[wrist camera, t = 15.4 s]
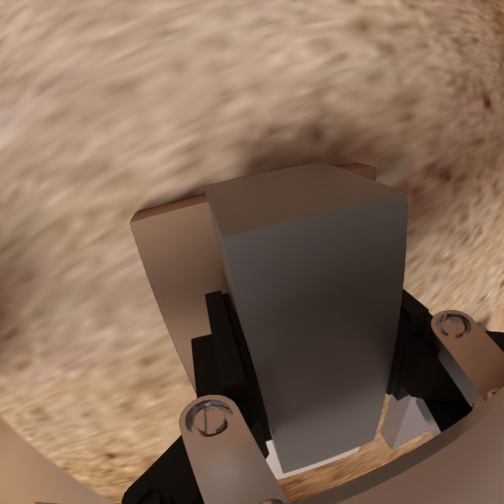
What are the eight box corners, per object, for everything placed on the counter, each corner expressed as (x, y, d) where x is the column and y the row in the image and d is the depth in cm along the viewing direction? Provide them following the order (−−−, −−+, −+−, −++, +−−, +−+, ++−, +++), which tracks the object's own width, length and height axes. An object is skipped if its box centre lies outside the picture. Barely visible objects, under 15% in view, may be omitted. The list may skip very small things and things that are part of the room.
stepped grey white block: (143, 201, 8) (117, 265, 5) (369, 154, 9) (463, 182, 5) (253, 478, 16) (268, 528, 12) (354, 445, 17) (378, 489, 13)
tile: (414, 384, 15) (496, 336, 16) (395, 361, 17) (476, 320, 18) (391, 449, 18) (465, 406, 19) (378, 429, 20) (451, 391, 21)
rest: (135, 213, 10) (129, 222, 9) (357, 162, 11) (374, 167, 10) (240, 468, 17) (243, 482, 16) (355, 431, 19) (362, 442, 17)
